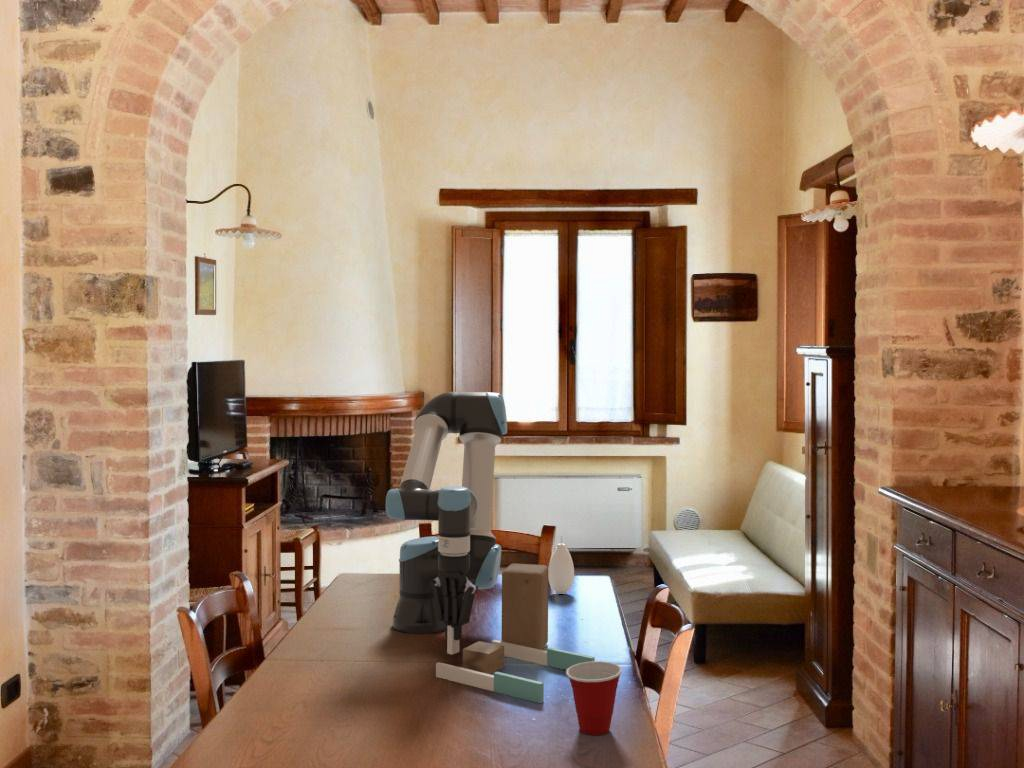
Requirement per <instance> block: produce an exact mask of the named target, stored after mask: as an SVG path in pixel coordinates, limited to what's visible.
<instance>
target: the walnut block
mask: <svg viewBox="0 0 1024 768" xmlns="http://www.w3.org/2000/svg"><path fill="white" fill-rule="evenodd" d="M503 666H504V667H505V656H504V646H502V645H496V644H492V642H491V643H489V642H485V641H480V640H479V641H477V642H474V643H472V644H470V645H469V646H465V647H464V648H463V649H462V668H465V669H470V670H474V671H478V672H482V673H486V674H490V675H492V674H494V673H495V672H497V671H499V670H500V668H501V669H502V667H503ZM504 667H503V668H504ZM498 669H499V670H498ZM496 670H497V671H496ZM491 673H492V674H491Z"/></svg>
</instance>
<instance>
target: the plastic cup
mask: <svg viewBox="0 0 1024 768" xmlns="http://www.w3.org/2000/svg"><path fill="white" fill-rule="evenodd" d="M622 669H623V668H622V667H621V666H620V665H618V664H617V663H613V662H609V661H602V660H599V661H598V660H595V661H593V662H584V663H579V664H576V665H573V666H571V667H569V668H568V669H567V670H565V675H566V676H567V677H568V679H569V682H570V685H571V689H572V695H573V700H574V707H575V712H576V715H577V723H578V727H579V730H580V732H581V733H584V734H585V735H589V736H602V735H606V734H608V733H609V732H610V729H611V725H612V724H611V722H612V717H613V715H614V710H615V709H614V708H615V702H616V696H617V690H618V685H619V681H620V676H621V675H622ZM608 731H609V732H608ZM607 732H608V733H607ZM605 733H606V734H605Z"/></svg>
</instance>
